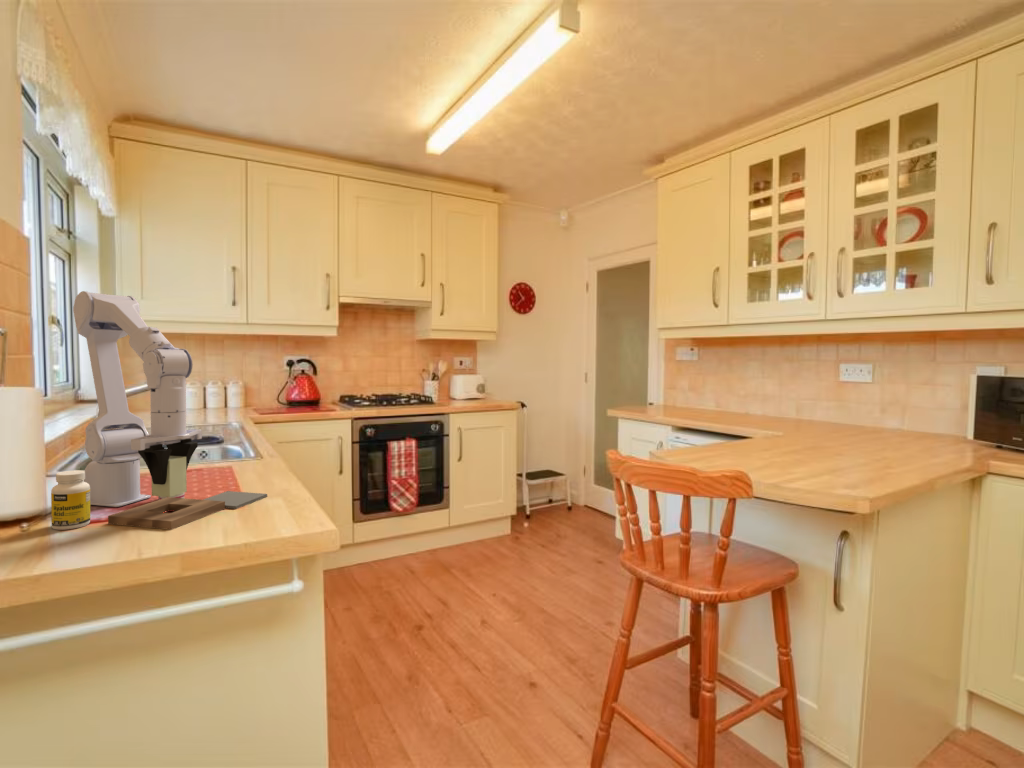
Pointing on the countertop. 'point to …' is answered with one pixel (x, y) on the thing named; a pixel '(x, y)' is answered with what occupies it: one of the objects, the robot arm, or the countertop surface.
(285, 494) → the countertop surface
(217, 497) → the charcoal mat
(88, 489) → the supplement bottle
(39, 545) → the countertop surface
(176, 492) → the sage block
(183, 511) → the walnut holder
